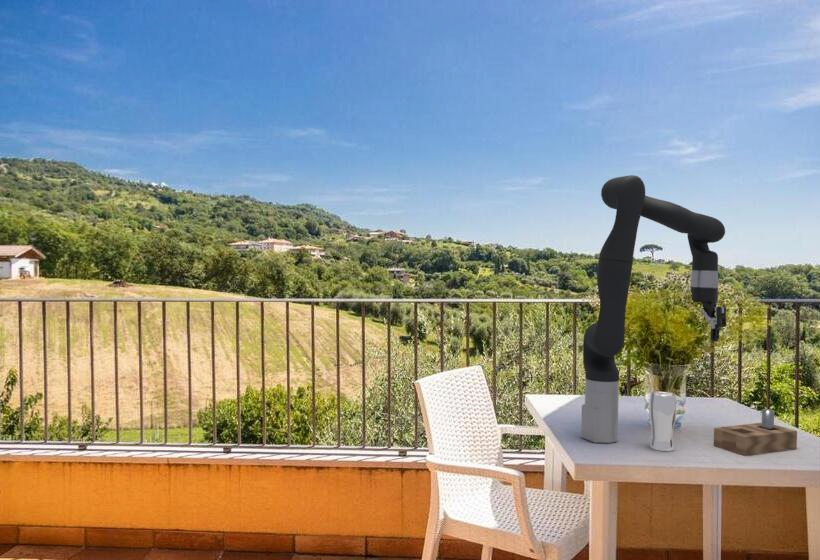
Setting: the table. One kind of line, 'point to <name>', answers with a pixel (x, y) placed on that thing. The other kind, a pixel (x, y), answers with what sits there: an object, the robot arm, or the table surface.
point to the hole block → (754, 439)
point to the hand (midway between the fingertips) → (702, 339)
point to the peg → (767, 419)
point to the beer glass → (662, 420)
